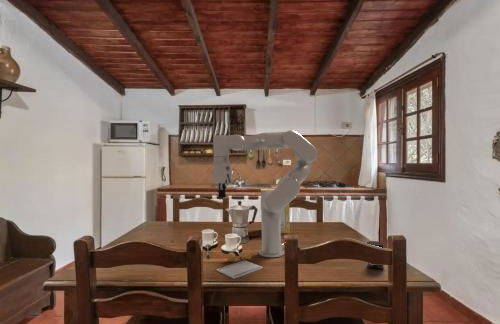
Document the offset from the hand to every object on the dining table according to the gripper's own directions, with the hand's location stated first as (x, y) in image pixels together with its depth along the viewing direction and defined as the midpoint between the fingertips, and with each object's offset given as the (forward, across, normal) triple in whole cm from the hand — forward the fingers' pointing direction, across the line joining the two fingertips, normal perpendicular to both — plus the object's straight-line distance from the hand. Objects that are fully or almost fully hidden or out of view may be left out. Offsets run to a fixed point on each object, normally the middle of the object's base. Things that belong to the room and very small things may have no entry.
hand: (222, 197), depth 139 cm
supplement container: (+29, -58, -39) cm, 76 cm away
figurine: (+28, -8, +3) cm, 30 cm away
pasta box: (+29, +16, -55) cm, 64 cm away
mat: (+29, -19, +5) cm, 35 cm away
